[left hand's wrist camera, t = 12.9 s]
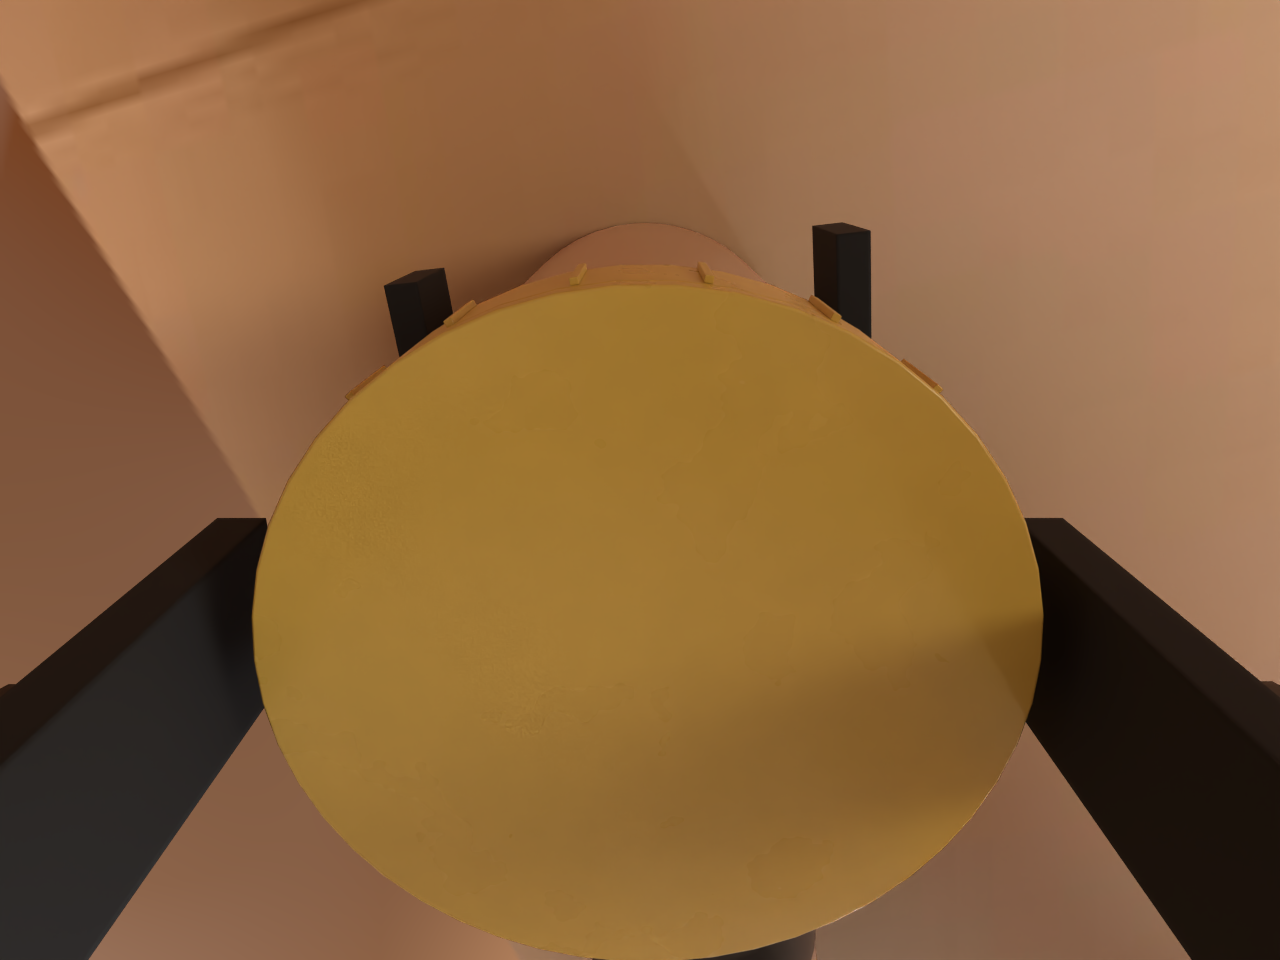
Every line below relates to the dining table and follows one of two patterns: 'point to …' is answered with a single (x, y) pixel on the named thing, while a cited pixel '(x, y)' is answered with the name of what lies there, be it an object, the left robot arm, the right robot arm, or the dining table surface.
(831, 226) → the right robot arm
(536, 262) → the dining table surface
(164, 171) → the dining table surface
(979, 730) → the lid
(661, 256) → the jar
